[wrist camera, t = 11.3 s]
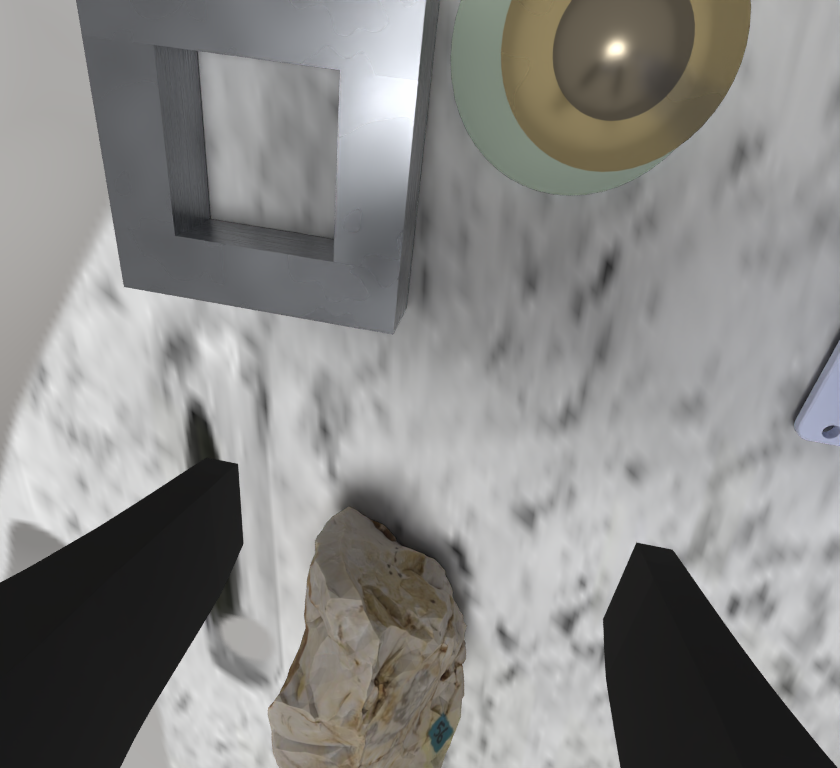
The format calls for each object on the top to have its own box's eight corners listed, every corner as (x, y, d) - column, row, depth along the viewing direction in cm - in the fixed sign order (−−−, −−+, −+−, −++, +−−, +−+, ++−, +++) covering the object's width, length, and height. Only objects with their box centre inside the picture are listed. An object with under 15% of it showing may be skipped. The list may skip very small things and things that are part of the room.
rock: (469, 719, 28) (410, 934, 19) (351, 681, 30) (243, 861, 21) (499, 497, 26) (449, 619, 17) (369, 470, 28) (256, 566, 18)
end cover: (676, -22, 13) (804, -97, 7) (630, 139, 15) (701, 189, 9) (528, -40, 14) (527, -126, 8) (500, 120, 16) (481, 157, 9)
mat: (776, -100, 13) (782, -104, 12) (671, 209, 16) (675, 212, 16) (474, -131, 13) (472, -136, 13) (437, 174, 17) (435, 176, 17)
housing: (440, -7, 15) (427, -18, 13) (406, 308, 19) (393, 334, 17) (122, -46, 15) (66, -61, 14) (162, 266, 20) (124, 286, 18)
